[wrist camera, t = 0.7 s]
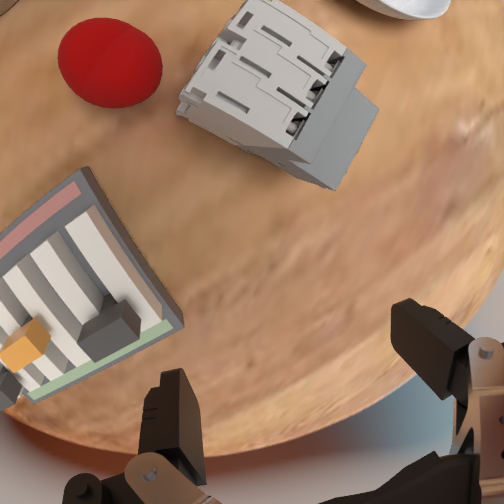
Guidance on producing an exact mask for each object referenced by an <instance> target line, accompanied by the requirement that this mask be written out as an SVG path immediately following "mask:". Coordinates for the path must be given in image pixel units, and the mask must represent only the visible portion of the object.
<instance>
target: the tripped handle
mask: <svg viewBox="0 0 504 504" xmlns="http://www.w3.org/2000/svg"><path fill="white" fill-rule="evenodd" d="M50 338H51V335H50V334H49V333H48V332H47V331H46V329H45V328H44V327H43V326H42V325H41V323H40V322H39V321H38V320H37V318H36V317H35V318H34V319H33V318H32V316H31V315H30V314H29V315H28V317H27V318H26V320H25V322H24V323H23V325H22V326H21V328H20V329H18V330H17V331H16V332H14V333H13V334H12V335H10V336H9V337H8V338H7V339H6V341H5V343H4V344H3V346H2V348H1V349H0V359H1V360H2V361H3V362H4V363H5V364H6V365H7V367H8V368H9V369H10V370H11V371H12V372H13V373H15V372H17V371H18V370H20V369H22V368H23V367H25V366H26V365H28V364H30V363H31V362H33V361H35V360H36V359H38V358H40V357H41V356H43V354H44V352H45V349H46V347H47V345H48V343H49V341H50Z"/></svg>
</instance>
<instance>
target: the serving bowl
mask: <svg viewBox="0 0 504 504" xmlns="http://www.w3.org/2000/svg"><path fill="white" fill-rule="evenodd" d="M356 1H358V2H359V3H361V4H363V5H365V6H367V7H368V8H370V9H372V10H375V11H377V12H379V13H382V14H384V15H388V16H391V17H394V18H399V19H405V20H428V19H434V18H437V17H440V16H441V15H443V14H444V13H445V12H446V11H447V9H448V7H449V5H450V2H451V0H356Z"/></svg>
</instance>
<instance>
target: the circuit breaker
mask: <svg viewBox="0 0 504 504" xmlns="http://www.w3.org/2000/svg"><path fill="white" fill-rule="evenodd" d="M365 67H366V63H364V62H363V61H362V60H361V59H360V58H359V57H357V56H356V55H355V54H354V53H352V52H351V51H350V50H349V49H348V48H346V47H345V46H344V45H342V44H341V43H340V42H339V41H337V40H336V39H335V38H333V37H332V36H331V35H329V34H328V33H327V32H325V31H324V30H323V29H321V28H320V27H318V26H317V25H315V24H314V23H313V22H311V21H310V20H308V19H307V18H305V17H304V16H302V15H301V14H299V13H298V12H296V11H295V10H293V9H292V8H290V7H288V6H287V5H285V4H283V3H282V2H280V1H279V0H272V1H271V2H270V1H268V0H245V1H244V3H243V4H242V6H241V7H240V9H239V11H238V12H237V13H236V14H235V15H234V16H233V17H232V18H231V19H230V20H229V22H228V23H227V24H226V26H225V27H224V28H223V30H222V31H221V32H220V34H219V35H218V37H217V38H216V39H215V41H214V42H213V44H212V45H211V46H210V48H209V49H208V51H207V52H206V54H205V55H204V57H203V58H202V60H201V61H200V63H199V64H198V66H197V67H196V69H195V70H194V72H195V73H194V75H193V76H192V78H191V79H190V81H189V82H188V84H186V85H185V86H184V88H183V89H182V91H181V92H180V94H179V98H178V100H180V101H181V103H180V105H179V106H178V108H177V110H176V115H177V116H179V117H180V115H181V116H183V117H185V118H187V119H188V121H189V122H191V123H193V124H195V125H197V126H199V127H201V128H203V129H205V130H207V131H208V132H210V133H212V134H214V135H216V136H218V137H220V138H221V139H223V140H225V141H227V142H229V143H231V144H232V145H234V146H236V147H238V148H240V149H241V150H243V151H245V152H247V153H251V154H252V153H253V154H257V155H259V156H261V157H263V158H264V159H266V160H268V161H269V162H271V163H273V164H274V165H276V166H278V167H279V168H281V169H283V170H284V171H286V172H288V173H289V174H291V175H292V176H294V177H296V178H298V179H301V180H304V181H307V182H310V183H313V184H316V185H319V186H320V187H322V188H325V189H326V188H328V189H330V190H333V191H336V190H337V188H338V186H339V184H340V182H341V181H342V179H343V177H344V175H345V174H346V172H347V170H348V168H349V166H350V164H351V162H352V161H353V159H354V157H355V155H356V153H357V152H358V150H359V148H360V146H361V144H362V142H363V140H364V138H365V136H366V134H367V133H368V131H369V129H370V127H371V125H372V123H373V121H374V119H375V117H376V115H377V114H378V112H379V108H378V107H377V106H376V105H375V104H373V103H372V102H371V101H370V100H369V99H368V98H367V97H365V96H364V95H363V94H362V93H361V92H360V91H358V90H357V89H356V88H355V85H356V83H357V81H358V80H359V78H360V76H361V74H362V72H363V71H364V69H365Z"/></svg>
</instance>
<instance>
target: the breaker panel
mask: <svg viewBox="0 0 504 504" xmlns="http://www.w3.org/2000/svg"><path fill="white" fill-rule="evenodd" d="M29 314H30V315H31V316H32V318H33V319H34V318H35V317H36V318H37V320H38V321H39V322H40V323H41V325H42V326H43V327H44V328H45V329H46V331H47V332H48V333H49V334H50V335H51V338H50V341H49V343H48V345H47V347H46V349H45V352H44V354H43V356H41V357H40V358H38V359H36V360H35V361H33V362H31V363H30V364H28V365H26V366H25V367H23V368H22V369H20V370H18V371H17V372H15V373H13V372H12V371H11V370H10V369H9V368H8V367H7V365H6V364H5V363H4V362H3V361H2V360H1V359H0V411H2V410H4V409H6V408H8V407H10V406H12V405H14V404H15V403H16V401H17V399H18V398H20V397H21V395H22V394H23V395H24V396H25V397H26V398H27V399H28V400H29V401H31V402H32V403H33V404H35V403H37V402H40V401H42V400H44V399H46V398H48V397H50V396H52V395H54V394H56V393H58V392H60V391H62V390H64V389H66V388H68V387H70V386H72V385H75V384H77V383H79V382H81V381H83V380H85V379H87V378H89V377H91V376H93V375H95V374H96V373H98V372H100V371H102V370H104V369H106V368H108V367H110V366H112V365H114V364H116V363H118V362H120V361H122V360H124V359H126V358H128V357H130V356H132V355H133V354H135V353H137V352H139V351H141V350H143V349H145V348H147V347H149V346H151V345H153V344H154V343H156V342H158V341H160V340H162V339H164V338H166V337H168V336H169V335H171V334H173V333H175V332H177V331H179V330H181V329H182V328H184V320H183V313H182V311H181V310H180V309H179V307H178V306H177V304H176V303H175V302H174V300H173V299H172V298H171V296H170V295H169V293H168V292H167V291H166V289H165V288H164V286H163V285H162V283H161V282H160V281H159V279H158V278H157V276H156V275H155V273H154V272H153V270H152V269H151V267H150V266H149V264H148V263H147V261H146V260H145V258H144V257H143V255H142V254H141V252H140V251H139V249H138V248H137V246H136V245H135V243H134V242H133V240H132V239H131V237H130V235H129V234H128V232H127V231H126V229H125V228H124V226H123V224H122V223H121V221H120V220H119V218H118V216H117V215H116V213H115V211H114V210H113V208H112V207H111V205H110V203H109V202H108V200H107V198H106V196H105V195H104V193H103V191H102V190H101V188H100V186H99V185H98V183H97V181H96V179H95V178H94V176H93V174H92V172H91V170H90V169H89V167H85V168H81V169H79V170H78V171H76V172H75V173H74V174H72V175H71V176H70V177H68V178H67V179H66V180H64V181H63V182H62V183H60V184H59V185H58V186H56V187H55V188H54V189H52V190H51V191H50V192H49V193H47V194H46V195H45V196H44V197H42V198H41V199H40V200H39V201H37V202H36V203H35V204H34V205H33V206H31V207H30V208H29V209H28V210H27V211H26V212H24V213H23V214H22V215H21V216H20V217H19V218H18V219H16V220H15V221H14V222H13V223H12V224H11V225H10V226H9V227H8V228H6V229H5V230H4V231H3V232H2V233H1V234H0V349H1V348H2V346H3V344H4V343H5V341H6V339H7V338H8V337H9V336H10V335H12V334H13V333H14V332H16V331H17V330H18V329H20V328H21V326H22V325H23V323H24V322H25V320H26V318H27V317H28V315H29Z"/></svg>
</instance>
